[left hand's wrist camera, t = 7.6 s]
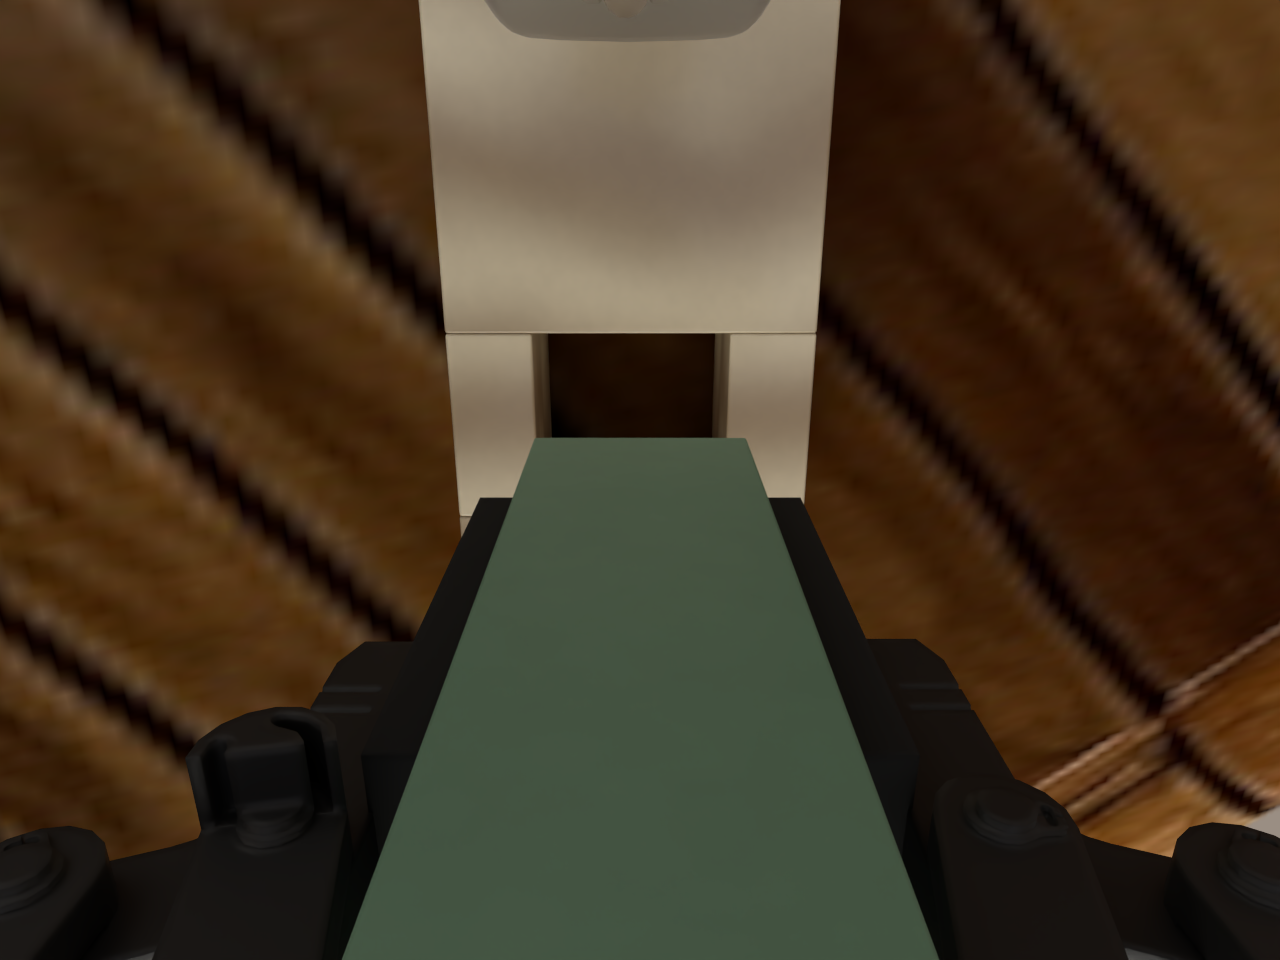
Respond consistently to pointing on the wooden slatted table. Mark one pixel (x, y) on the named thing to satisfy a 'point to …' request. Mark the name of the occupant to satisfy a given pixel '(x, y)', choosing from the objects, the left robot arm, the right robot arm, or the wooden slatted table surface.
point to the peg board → (629, 218)
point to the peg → (640, 740)
